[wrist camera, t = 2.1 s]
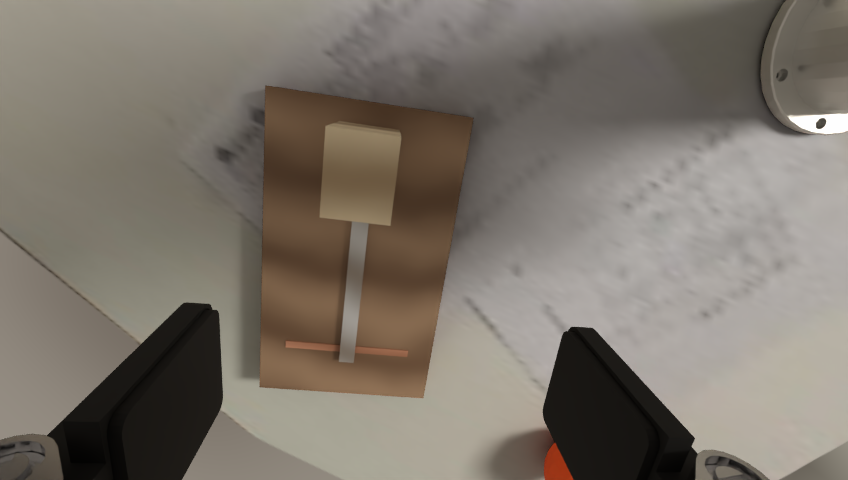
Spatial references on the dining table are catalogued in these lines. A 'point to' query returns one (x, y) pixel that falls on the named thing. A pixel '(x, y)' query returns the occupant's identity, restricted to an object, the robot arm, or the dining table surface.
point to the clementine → (555, 465)
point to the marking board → (354, 251)
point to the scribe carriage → (359, 172)
